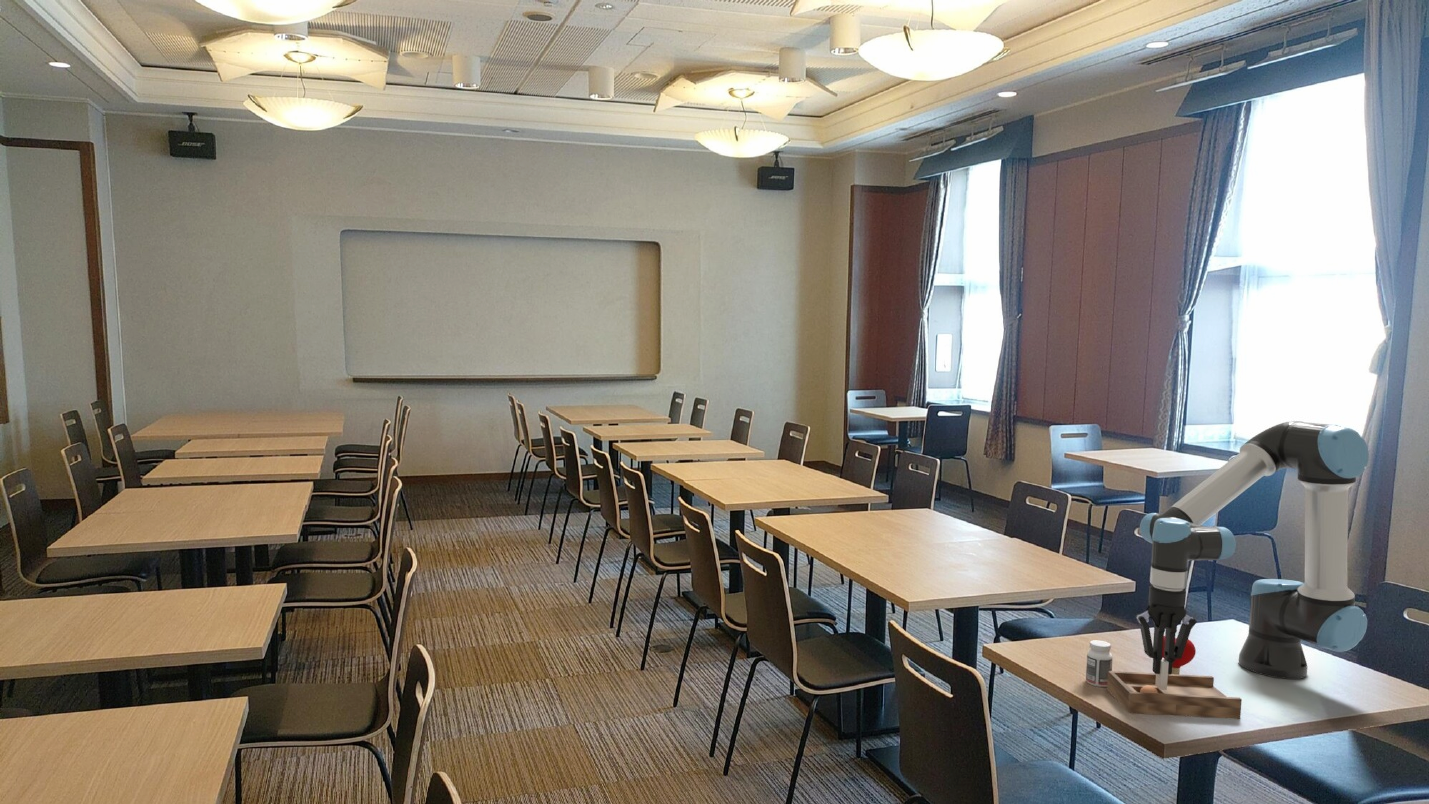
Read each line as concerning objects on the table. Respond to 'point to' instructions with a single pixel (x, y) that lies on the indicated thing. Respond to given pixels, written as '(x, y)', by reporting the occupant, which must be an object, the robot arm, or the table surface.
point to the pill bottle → (1098, 663)
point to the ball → (1148, 689)
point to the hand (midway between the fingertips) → (1161, 687)
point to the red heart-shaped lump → (1186, 657)
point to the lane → (1172, 695)
